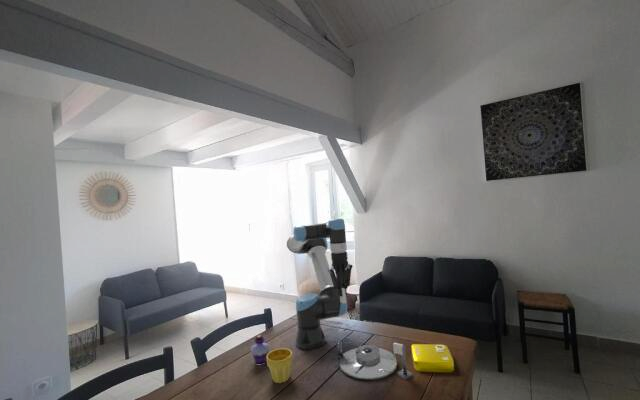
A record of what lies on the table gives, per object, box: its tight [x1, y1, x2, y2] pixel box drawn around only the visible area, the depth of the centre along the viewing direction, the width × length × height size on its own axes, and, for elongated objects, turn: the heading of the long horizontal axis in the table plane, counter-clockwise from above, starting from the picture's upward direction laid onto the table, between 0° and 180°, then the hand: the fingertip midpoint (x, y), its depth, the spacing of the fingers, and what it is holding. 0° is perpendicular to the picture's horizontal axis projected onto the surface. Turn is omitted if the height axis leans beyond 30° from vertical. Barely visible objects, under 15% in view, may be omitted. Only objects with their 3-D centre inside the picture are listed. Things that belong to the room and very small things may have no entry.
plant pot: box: [266, 347, 293, 384], centre depth 119 cm, size 10×10×10 cm
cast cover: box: [356, 344, 380, 367], centre depth 124 cm, size 10×10×4 cm
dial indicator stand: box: [392, 342, 414, 381], centre depth 115 cm, size 5×4×12 cm
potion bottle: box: [249, 334, 270, 365], centre depth 134 cm, size 9×9×12 cm
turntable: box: [336, 340, 398, 381], centre depth 125 cm, size 27×24×6 cm
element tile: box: [410, 343, 455, 373], centre depth 122 cm, size 15×15×5 cm
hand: (343, 302), depth 136 cm, fingers closed
